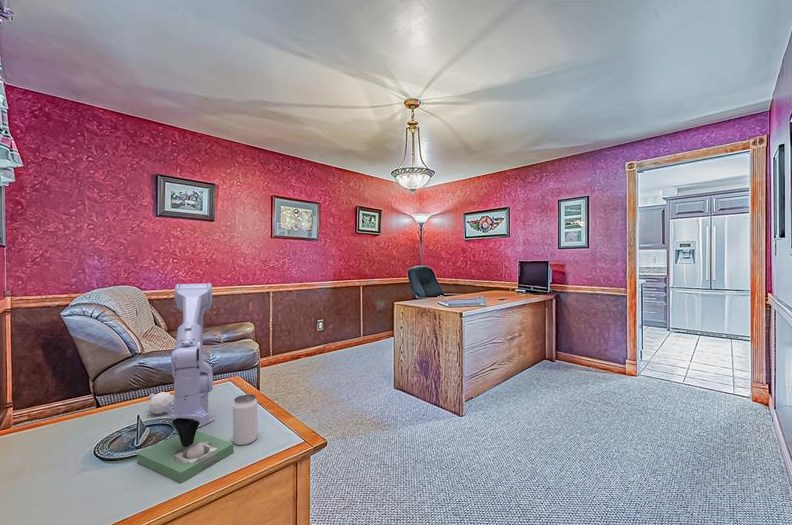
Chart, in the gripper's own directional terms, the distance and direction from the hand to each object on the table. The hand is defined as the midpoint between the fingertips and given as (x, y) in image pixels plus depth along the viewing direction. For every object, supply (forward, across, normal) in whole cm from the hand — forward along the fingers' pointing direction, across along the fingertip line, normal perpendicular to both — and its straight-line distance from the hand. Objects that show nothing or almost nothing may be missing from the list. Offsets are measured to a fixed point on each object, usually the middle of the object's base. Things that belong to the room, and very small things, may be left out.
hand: (187, 444), depth 90 cm
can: (+4, +6, +13) cm, 15 cm away
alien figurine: (+4, -33, +13) cm, 36 cm away
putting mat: (+3, 0, 0) cm, 3 cm away
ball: (+1, +3, 0) cm, 3 cm away
